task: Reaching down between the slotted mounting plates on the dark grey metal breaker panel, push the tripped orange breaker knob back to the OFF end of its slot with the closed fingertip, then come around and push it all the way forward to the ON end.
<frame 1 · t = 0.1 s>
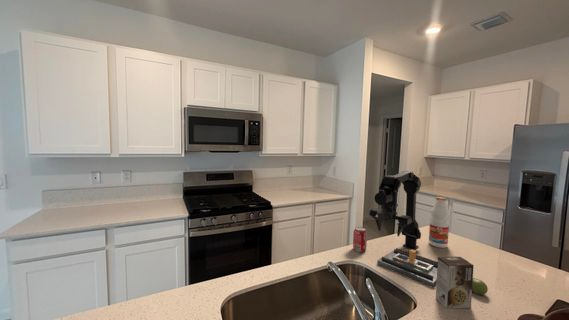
hand: (388, 233, 116), 15 cm above the table, fingers open, 9 cm apart
fruit juice: (437, 245, 139), on the table
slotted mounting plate: (412, 261, 112), in the panel, point 2 cm above the table
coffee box: (452, 303, 87), on the table
pear: (472, 290, 96), on the table
breaker lever: (412, 256, 112), point 5 cm above the table, slide at 4.0 cm
panel: (411, 267, 112), on the table
soda can: (359, 250, 130), on the table
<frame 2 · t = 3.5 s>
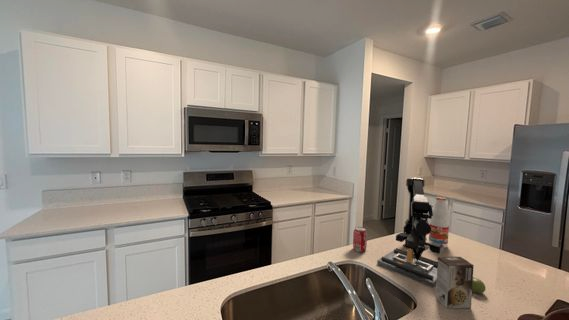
hand: (417, 260, 110), 4 cm above the table, fingers closed
breaker lever: (410, 256, 113), point 5 cm above the table, slide at 2.9 cm, touching gripper
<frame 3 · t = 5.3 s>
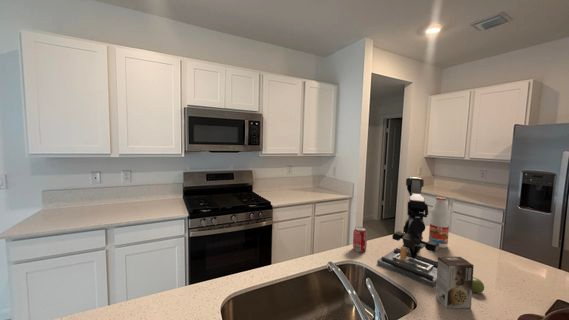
hand: (413, 258, 111), 5 cm above the table, fingers closed
breaker lever: (403, 253, 115), point 5 cm above the table, slide at 0.0 cm
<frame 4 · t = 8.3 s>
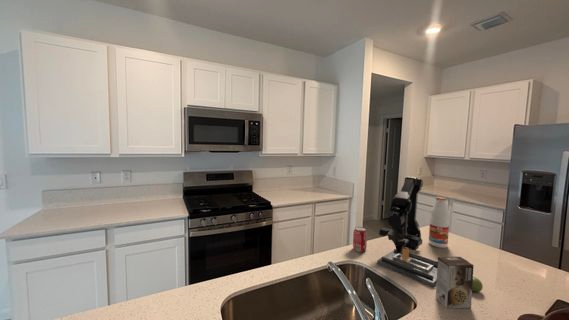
hand: (398, 253, 117), 5 cm above the table, fingers closed
breaker lever: (405, 254, 114), point 5 cm above the table, slide at 0.9 cm, touching gripper
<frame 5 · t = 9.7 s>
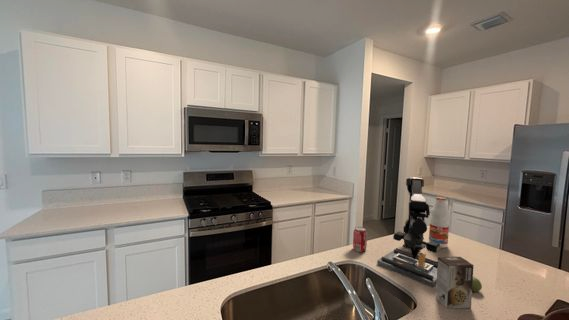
hand: (414, 259, 111), 5 cm above the table, fingers closed
breaker lever: (421, 260, 109), point 5 cm above the table, slide at 8.1 cm, touching gripper
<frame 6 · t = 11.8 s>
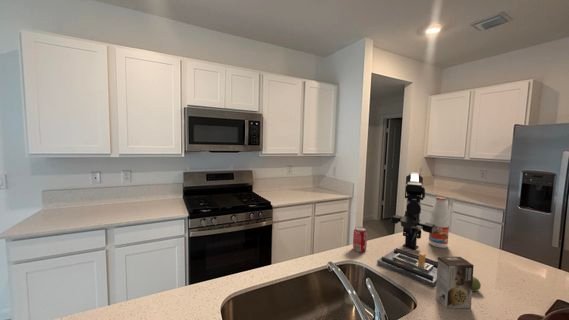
hand: (411, 240, 115), 12 cm above the table, fingers closed
breaker lever: (421, 260, 109), point 5 cm above the table, slide at 8.0 cm
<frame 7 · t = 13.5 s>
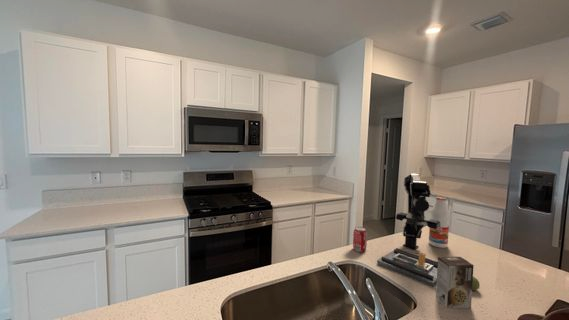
hand: (416, 236, 119), 12 cm above the table, fingers closed
at the end: breaker lever slide at 8.0 cm; the gripper is holding nothing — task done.
